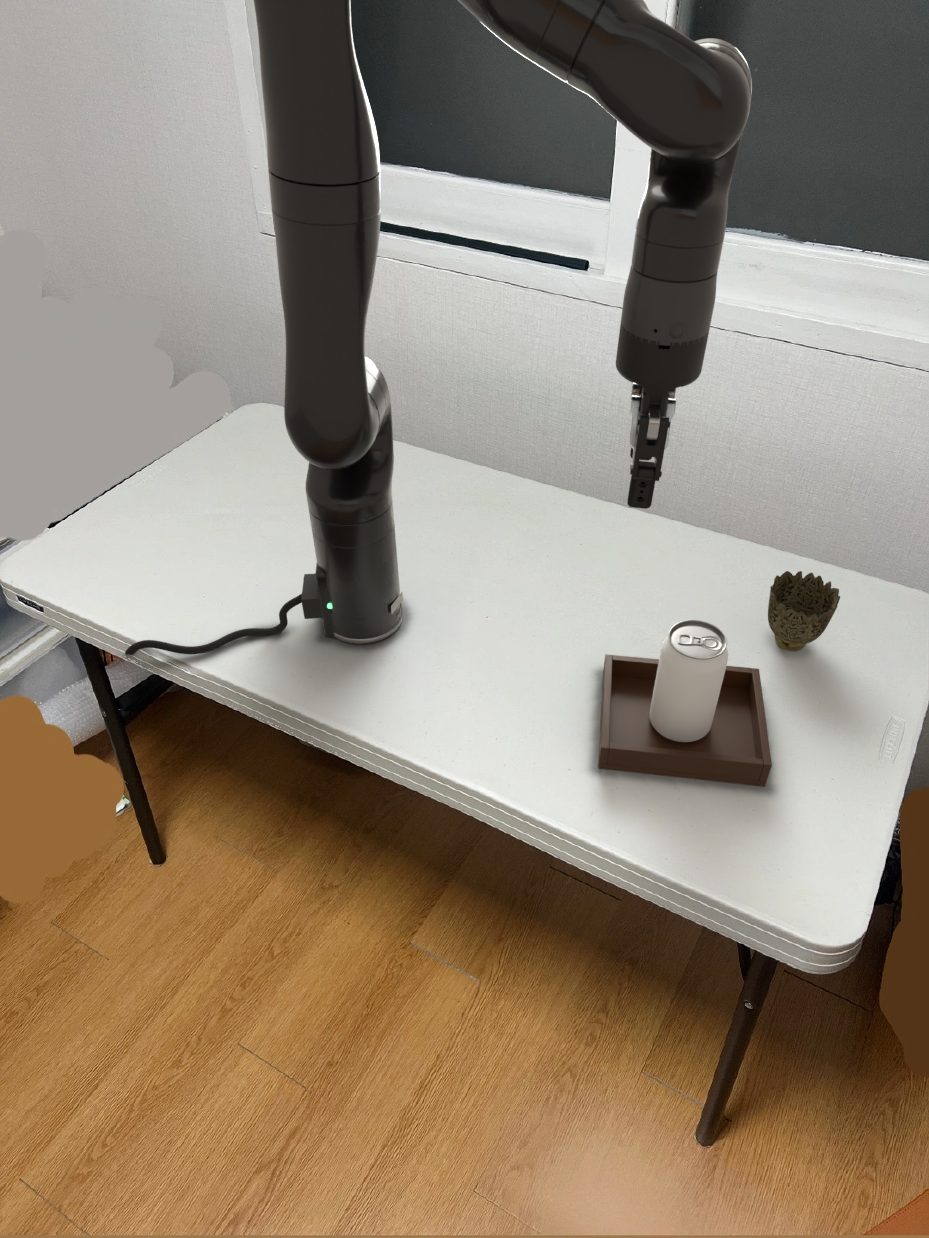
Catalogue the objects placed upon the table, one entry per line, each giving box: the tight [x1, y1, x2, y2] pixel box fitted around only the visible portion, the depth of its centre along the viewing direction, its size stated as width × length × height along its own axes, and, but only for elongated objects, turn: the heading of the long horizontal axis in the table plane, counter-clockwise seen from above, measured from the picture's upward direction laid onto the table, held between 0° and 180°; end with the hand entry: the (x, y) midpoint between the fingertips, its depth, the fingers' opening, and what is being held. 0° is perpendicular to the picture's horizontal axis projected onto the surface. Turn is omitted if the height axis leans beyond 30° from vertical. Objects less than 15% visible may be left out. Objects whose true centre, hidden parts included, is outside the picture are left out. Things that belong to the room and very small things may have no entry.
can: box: [650, 619, 729, 742], centre depth 91 cm, size 6×6×12 cm
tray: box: [597, 653, 773, 787], centre depth 94 cm, size 17×14×3 cm
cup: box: [767, 570, 841, 652], centre depth 102 cm, size 8×7×8 cm
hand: (639, 481), depth 87 cm, fingers open, 8 cm apart
